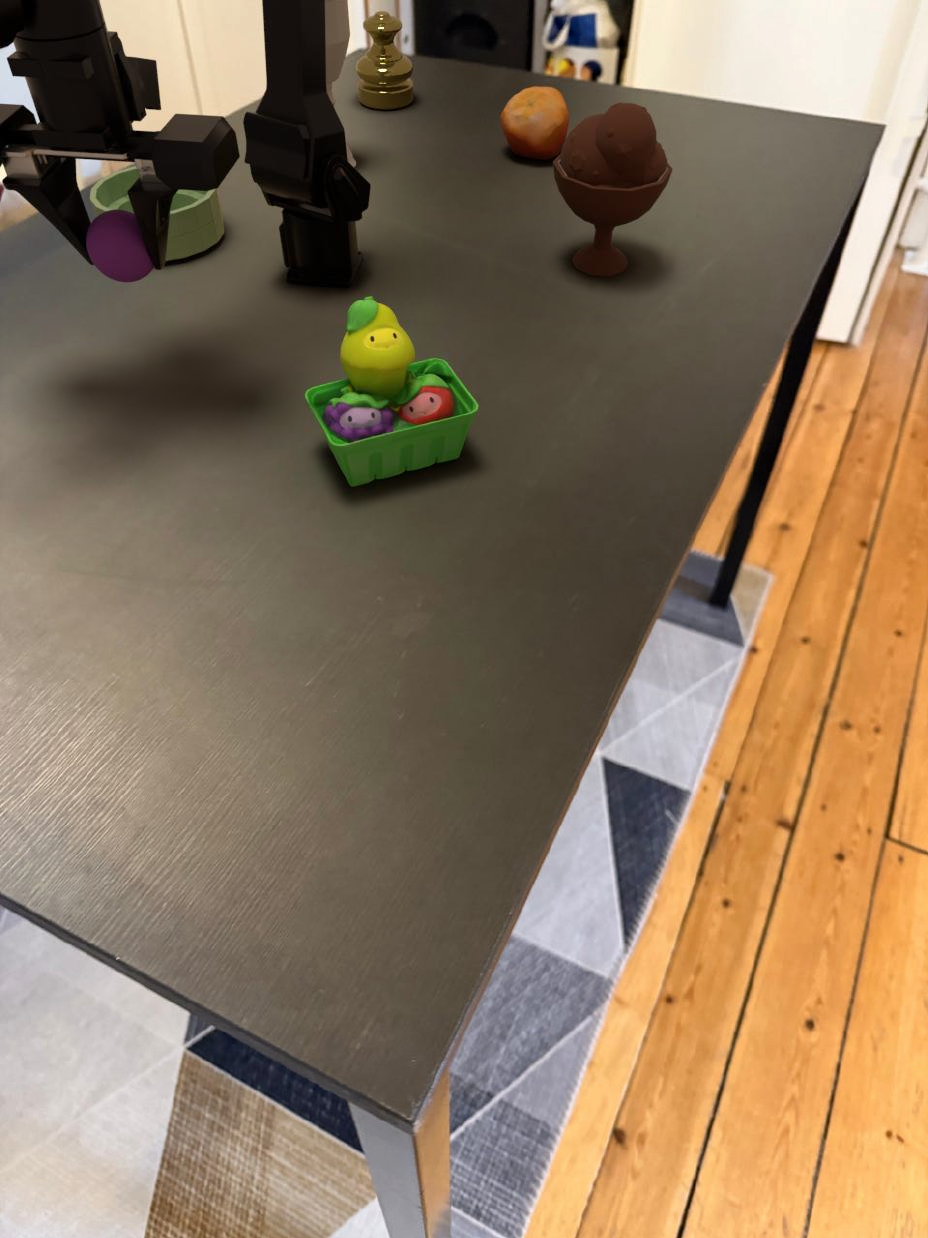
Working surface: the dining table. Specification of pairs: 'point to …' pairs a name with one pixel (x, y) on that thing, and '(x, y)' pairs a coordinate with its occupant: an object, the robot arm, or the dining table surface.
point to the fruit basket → (389, 401)
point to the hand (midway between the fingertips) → (128, 264)
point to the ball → (118, 246)
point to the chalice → (336, 46)
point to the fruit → (536, 122)
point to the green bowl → (190, 214)
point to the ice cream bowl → (611, 178)
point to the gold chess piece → (384, 66)
